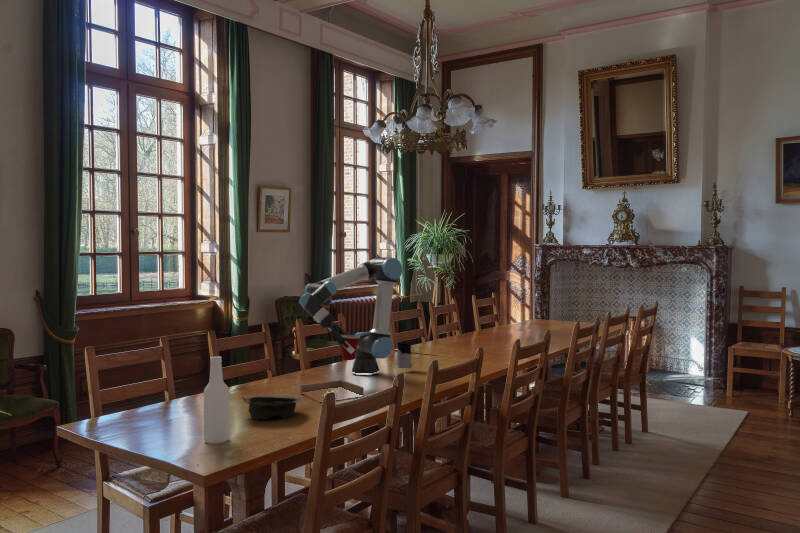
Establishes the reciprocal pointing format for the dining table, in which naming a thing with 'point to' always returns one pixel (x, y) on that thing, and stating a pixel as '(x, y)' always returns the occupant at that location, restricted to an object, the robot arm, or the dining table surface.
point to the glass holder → (405, 355)
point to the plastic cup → (353, 342)
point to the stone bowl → (271, 406)
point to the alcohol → (216, 405)
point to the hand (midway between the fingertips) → (355, 350)
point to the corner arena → (332, 384)
